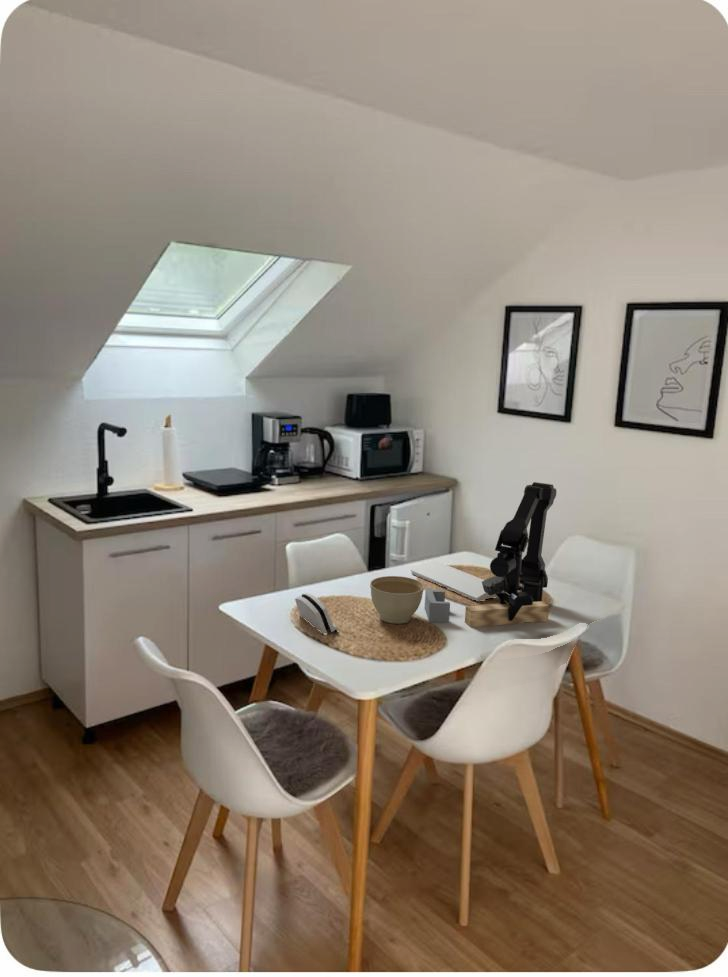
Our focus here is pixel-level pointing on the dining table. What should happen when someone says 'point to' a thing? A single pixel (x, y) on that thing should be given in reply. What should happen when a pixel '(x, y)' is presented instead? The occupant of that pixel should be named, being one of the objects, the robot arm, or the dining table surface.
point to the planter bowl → (396, 597)
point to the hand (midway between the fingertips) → (507, 618)
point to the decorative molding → (452, 579)
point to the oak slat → (505, 614)
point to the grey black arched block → (315, 612)
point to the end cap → (436, 606)
